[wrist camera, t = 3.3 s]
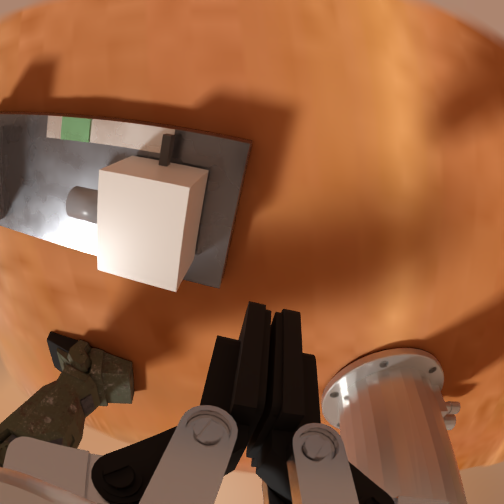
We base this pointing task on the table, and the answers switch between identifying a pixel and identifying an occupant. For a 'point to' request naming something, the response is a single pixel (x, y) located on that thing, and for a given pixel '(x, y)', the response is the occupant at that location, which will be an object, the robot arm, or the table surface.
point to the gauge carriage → (144, 217)
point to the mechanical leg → (69, 394)
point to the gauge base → (102, 155)
